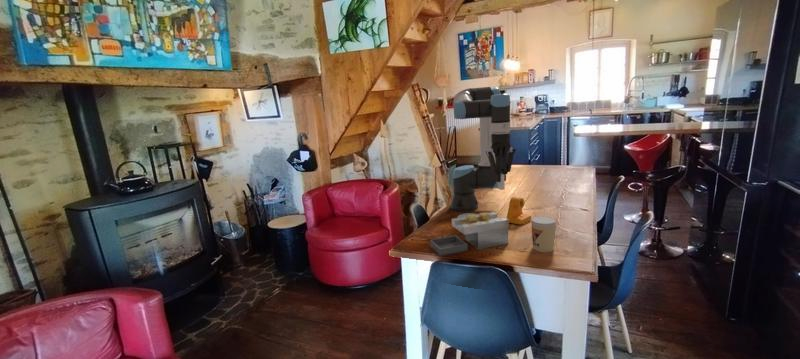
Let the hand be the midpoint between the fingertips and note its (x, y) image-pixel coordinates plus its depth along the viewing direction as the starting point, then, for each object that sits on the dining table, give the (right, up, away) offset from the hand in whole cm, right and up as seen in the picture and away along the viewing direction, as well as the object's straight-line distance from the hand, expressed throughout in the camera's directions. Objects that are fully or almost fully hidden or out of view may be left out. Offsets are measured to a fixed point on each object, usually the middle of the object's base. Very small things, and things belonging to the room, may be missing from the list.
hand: (501, 189), depth 158 cm
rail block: (-8, -23, +2) cm, 25 cm away
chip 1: (-12, -15, -1) cm, 19 cm away
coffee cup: (+15, -24, -7) cm, 29 cm away
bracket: (+15, -17, +24) cm, 33 cm away
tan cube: (-7, -14, +1) cm, 15 cm away
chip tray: (-22, -25, -2) cm, 33 cm away
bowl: (-10, -20, +18) cm, 29 cm away
